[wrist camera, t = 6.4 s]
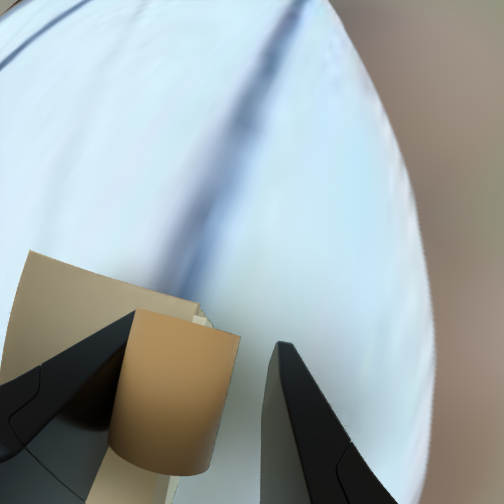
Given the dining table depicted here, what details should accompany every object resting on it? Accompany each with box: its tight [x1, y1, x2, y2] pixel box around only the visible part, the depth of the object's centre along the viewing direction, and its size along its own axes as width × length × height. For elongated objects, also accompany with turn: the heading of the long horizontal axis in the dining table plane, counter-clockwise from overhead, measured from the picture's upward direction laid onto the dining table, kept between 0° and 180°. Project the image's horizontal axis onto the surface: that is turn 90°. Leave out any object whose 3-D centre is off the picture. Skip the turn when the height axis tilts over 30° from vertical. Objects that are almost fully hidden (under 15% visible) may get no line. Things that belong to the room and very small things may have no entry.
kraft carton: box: [0, 250, 213, 504], centre depth 13 cm, size 8×10×10 cm
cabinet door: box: [108, 308, 241, 504], centre depth 8 cm, size 2×9×9 cm, turn 167°
